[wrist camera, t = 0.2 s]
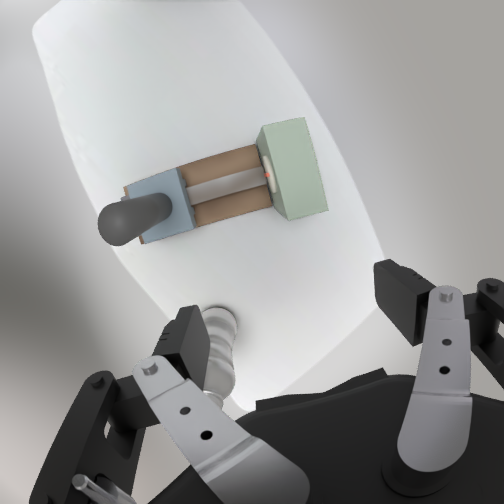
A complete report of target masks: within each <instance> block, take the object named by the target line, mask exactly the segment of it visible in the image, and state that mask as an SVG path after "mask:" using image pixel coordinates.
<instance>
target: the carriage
mask: <svg viewBox="0 0 504 504" xmlns="http://www.w3.org/2000/svg"><path fill="white" fill-rule="evenodd" d="M185 186H187V185H186V181H185V179H183V178H182V175H181V171H180V168H174V169H171V170H168V171H165V172H163V173H160V174H157V175H154V176H152V177H149V178H146V179H144V180H141V181H138V182H136V183H133V184H131V185H128V186H127V190H128V193H129V197H130V199H128V200H124V201H120V202H116V203H112V204H109V205H107V206H106V207H104V208H103V210H102V211H101V213H100V215H99V218H98V229H99V232H100V235H101V236H102V238H103V239H104V240H105V241H106V242H107V243H109V244H110V245H113V246H122V245H124V244H126V243H128V242H129V241H131V240H133V239H134V238H136V237H137V236H139V235H142V237H143V240H144V243H145V244H147V243H150V242H153V241H156V240H159V239H163V238H166V237H169V236H172V235H175V234H179V233H182V232H185V231H189V230H192V229H194V228H195V227H196V226H197V225H196V221H195V218H194V214H195V211H194V208H193V207H191V205H190V202H189V199H188V195H187V192H186V188H185Z"/></svg>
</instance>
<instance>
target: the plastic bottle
mask: <svg viewBox="0 0 504 504" xmlns="http://www.w3.org/2000/svg"><path fill="white" fill-rule="evenodd" d="M201 315H202V318H203V320H204V323H205V326H206V329H207V331H208V334H209V338H210V352H209V358H208V364H207V370H206V376H205V382H204V388H203V393H204V394H206V395H207V396H208V397H209V398H210V399H211V400H212V401H213V402H214V403H215V404H216V405H217V406H218V407H219V408H220V409H221V410H222V407H223V400H224V399H225V398H226V397H227V396H229V395H230V393H231V392H232V390H233V388H234V386H235V372H234V367H233V362H232V348H233V343H234V340H235V337H236V334H237V323H236V320H235V318H234V316H233V315H232V314H231V313H230V312H229V311H227V310H225V309H223V308H210V309H207V310H205V311H204V312H203V313H202V314H201Z"/></svg>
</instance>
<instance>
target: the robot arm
mask: <svg viewBox="0 0 504 504" xmlns="http://www.w3.org/2000/svg"><path fill="white" fill-rule="evenodd" d="M374 285H375V298H376V302H377V304H378V306H379V308H380V309H381V310H382V311H383V312H384V313H385V314H386V316H387V317H388V318H389V319H390V320H391V321H392V323H393V324H394V325H395V326H396V327H397V328H398V330H399V331H400V332H401V333H402V334H403V336H404V337H405V338H406V339H407V340H408V342H409V343H410V344H411V345H412V346H416V345H418V344H421V343H423V344H422V350H421V355H420V360H419V365H418V370H417V375H416V376H413V375H400V374H398V375H387V374H386V372H385V371H384V369H383V368H380V369H378V370H374V371H372V372H369V373H366V374H363V375H359V376H356V377H353V378H351V379H350V380H348V381H346V382H344V383H342V384H340V385H338V386H336V387H334V388H332V389H330V390H328V391H326V392H323V393H313V394H294V395H293V394H292V395H284V396H279V397H274V398H269V399H263V400H257V401H256V410H255V411H252V412H250V413H248V414H246V415H244V416H242V417H240V418H239V419H237V420H236V421H234V420H232V419H231V418H230V417H229V416H228V415H227V414H226V413H225V412H223V411H222V410H221V409H220V408H219V407H218V406H217V405H216V404H215V403H214V402H213V401H212V400H211V399H210V398H209V397H208V396H207V395H206V394H204V393H203V388H204V382H205V376H206V370H207V364H208V358H209V352H210V338H209V334H208V331H207V329H206V326H205V323H204V320H203V318H202V315H201V312H200V309H199V307H198V306H197V305H193V306H187V307H182V308H180V309H179V312H178V314H177V316H176V319H175V320H171V321H170V322H169V323H168V324H167V325H166V326H165V327H164V330H163V332H162V335H161V336H160V338H159V341H158V343H157V345H156V347H155V349H154V352H153V354H152V356H150V357H147V358H145V359H143V360H141V361H140V362H138V363H137V364H136V365H135V366H134V368H133V371H132V374H133V375H131V376H128V377H124V378H121V379H117V380H116V379H115V377H114V376H113V374H112V373H111V372H110V371H100V372H97V373H95V374H92V375H91V376H90V377H88V378H87V379H86V381H85V382H84V384H83V385H82V387H81V389H80V391H79V393H78V395H77V396H76V398H75V400H74V402H73V404H72V406H71V408H70V410H69V412H68V414H67V416H66V417H65V420H64V421H63V423H62V426H61V427H60V429H59V431H58V434H57V435H56V438H55V440H54V442H53V444H52V446H51V448H50V450H49V453H48V455H47V457H46V459H45V462H44V464H43V466H42V468H41V471H40V473H39V476H38V478H37V480H36V483H35V485H34V488H33V490H32V493H31V496H30V499H29V504H136V502H135V500H134V499H133V498H132V497H131V494H132V489H133V484H134V479H135V474H136V469H137V464H138V460H139V456H140V451H141V447H142V442H143V438H144V434H145V430H146V427H149V426H152V425H156V424H160V423H161V424H162V425H163V426H164V428H165V430H166V431H167V433H168V434H169V436H170V437H171V438H172V440H173V441H174V442H175V444H176V445H177V447H178V448H179V449H180V451H181V452H182V453H183V455H184V456H185V457H186V459H187V460H188V461H189V462H190V464H191V465H190V466H189V467H188V468H186V470H184V471H183V472H182V473H181V474H180V475H179V476H178V477H177V478H176V479H175V480H174V481H173V482H172V483H171V484H169V485H168V486H167V487H166V488H165V489H164V490H163V491H162V492H161V493H159V494H158V495H157V496H156V497H155V498H154V499H152V500H151V501H150V502H149V503H148V504H504V401H500V400H496V399H491V398H488V397H484V396H480V395H477V394H473V393H470V377H471V351H472V352H473V353H474V354H475V355H476V356H477V358H478V359H479V360H480V361H481V362H482V364H483V365H484V366H485V367H486V368H487V369H488V371H489V372H490V373H491V374H492V375H493V377H494V378H495V379H496V380H497V382H498V383H499V384H500V385H501V386H502V388H503V389H504V338H503V337H502V336H501V335H500V334H499V333H498V328H499V324H500V321H501V322H502V323H503V324H504V282H502V281H500V280H498V279H493V278H487V279H483V280H481V281H479V282H478V284H477V292H476V293H472V294H467V295H463V294H462V292H461V291H460V290H459V289H457V288H455V287H452V286H439V287H436V286H435V285H433V284H432V283H430V282H429V281H428V280H426V279H425V278H423V277H422V276H421V275H419V274H417V272H415V271H414V270H412V269H410V268H407V267H404V266H399V265H398V264H397V263H395V262H394V261H392V260H391V259H387V260H384V261H380V262H376V263H375V264H374ZM107 421H108V422H109V424H110V425H111V427H110V429H109V432H108V435H107V438H105V435H104V428H105V425H106V423H107Z"/></svg>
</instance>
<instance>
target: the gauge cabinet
mask: <svg viewBox="0 0 504 504" xmlns="http://www.w3.org/2000/svg"><path fill="white" fill-rule="evenodd" d="M256 143H257V146H258V150H259V153H260V157H261V160H262V164H263V168H264V171H265V174H264V176H265V177H266V179H267V182H268V186H269V190H270V193H271V197H272V201H273V205H274V208H275V209H276V210H277V211H278V212H279V213H280V214H281V215H282V216H283V217H284V218H285V219H286V220H288V221H291V220H295V219H298V218H302V217H306V216H310V215H313V214H317V213H321V212H325V211H329V210H328V206H327V201H326V197H325V193H324V188H323V184H322V180H321V176H320V172H319V168H318V164H317V160H316V156H315V152H314V149H313V145H312V141H311V138H310V134H309V131H308V127H307V124H306V120H305V117H302V118H297V119H291V120H287V121H282V122H277V123H273V124H268V125H264V126H262V128H261V130H260V133H259V135H258V138H257V140H256Z"/></svg>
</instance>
